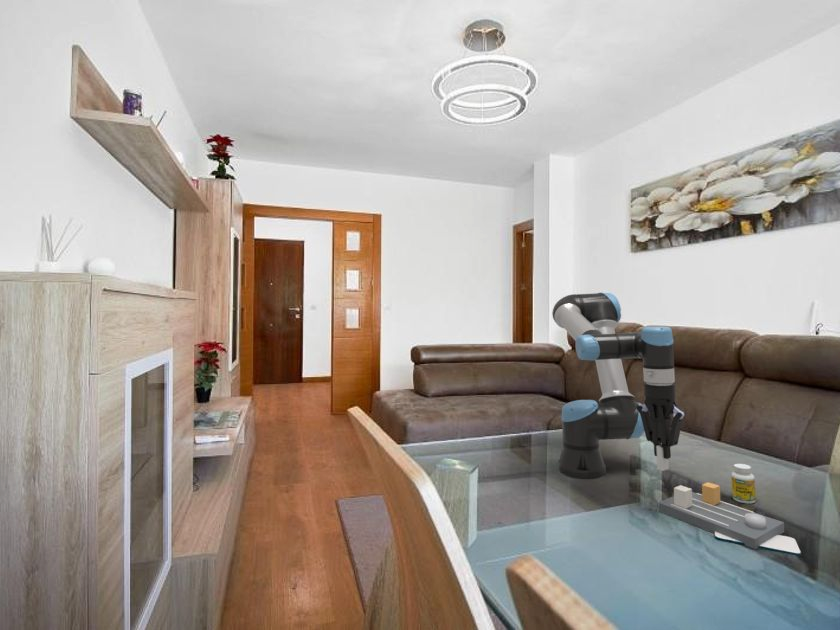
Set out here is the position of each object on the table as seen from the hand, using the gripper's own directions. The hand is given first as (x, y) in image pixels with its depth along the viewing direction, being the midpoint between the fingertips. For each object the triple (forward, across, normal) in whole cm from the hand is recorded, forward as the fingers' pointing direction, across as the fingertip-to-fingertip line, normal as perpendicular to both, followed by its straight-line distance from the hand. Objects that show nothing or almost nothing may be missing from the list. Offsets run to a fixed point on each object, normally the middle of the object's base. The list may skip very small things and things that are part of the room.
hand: (663, 469), depth 123 cm
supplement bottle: (+11, +9, +22) cm, 26 cm away
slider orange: (+8, +8, +8) cm, 14 cm away
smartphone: (+12, +21, +2) cm, 24 cm away
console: (+11, +12, +4) cm, 16 cm away
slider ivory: (+8, +5, 0) cm, 10 cm away
